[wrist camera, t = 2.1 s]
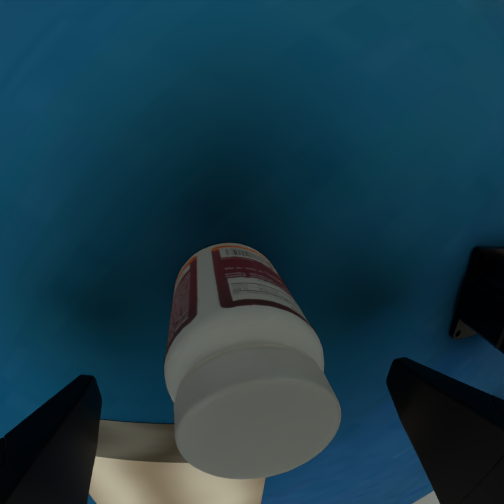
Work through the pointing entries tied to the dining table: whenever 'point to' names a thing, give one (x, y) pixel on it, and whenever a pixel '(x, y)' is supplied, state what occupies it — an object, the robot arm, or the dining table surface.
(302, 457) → the pill bottle
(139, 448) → the birch block
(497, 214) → the dining table surface
